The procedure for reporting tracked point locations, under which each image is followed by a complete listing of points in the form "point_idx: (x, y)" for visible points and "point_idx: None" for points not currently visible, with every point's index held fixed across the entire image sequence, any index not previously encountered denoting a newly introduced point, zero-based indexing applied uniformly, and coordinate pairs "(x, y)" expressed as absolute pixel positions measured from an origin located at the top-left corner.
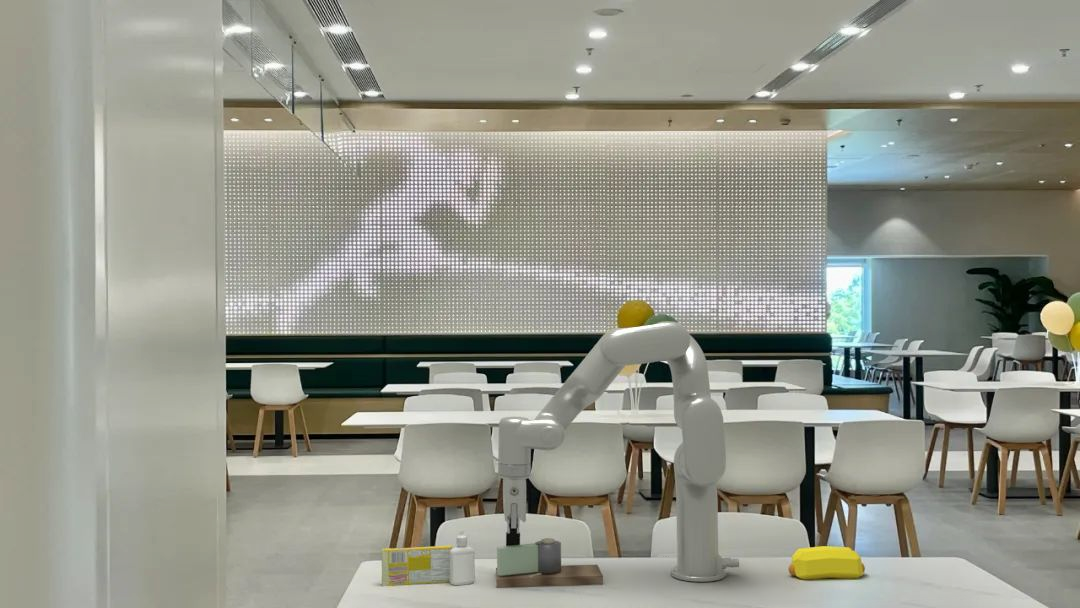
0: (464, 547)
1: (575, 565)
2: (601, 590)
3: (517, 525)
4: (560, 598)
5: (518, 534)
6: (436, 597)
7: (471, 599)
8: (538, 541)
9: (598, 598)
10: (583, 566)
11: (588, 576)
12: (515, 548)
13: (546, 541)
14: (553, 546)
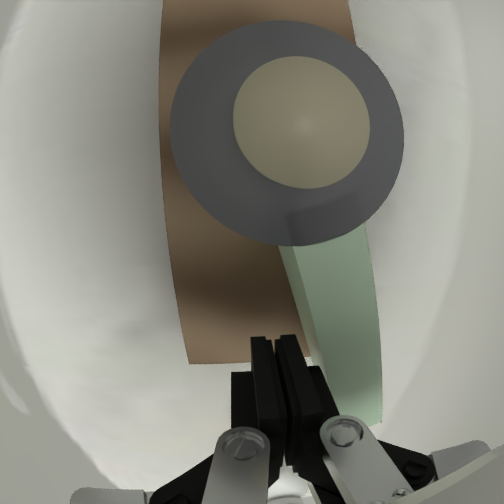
0: (300, 494)
1: (166, 29)
2: (393, 10)
3: (423, 473)
4: (463, 143)
5: (320, 417)
6: (374, 425)
7: (415, 369)
8: (215, 213)
9: (457, 49)
10: (189, 2)
11: (347, 6)
12: (379, 363)
13: (365, 142)
14: (392, 96)
